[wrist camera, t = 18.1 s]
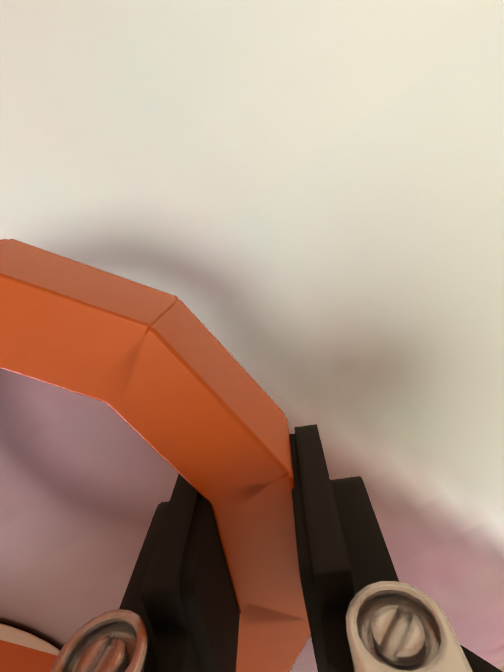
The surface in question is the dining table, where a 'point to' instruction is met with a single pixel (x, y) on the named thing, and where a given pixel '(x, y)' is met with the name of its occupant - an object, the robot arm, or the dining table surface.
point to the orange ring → (168, 425)
